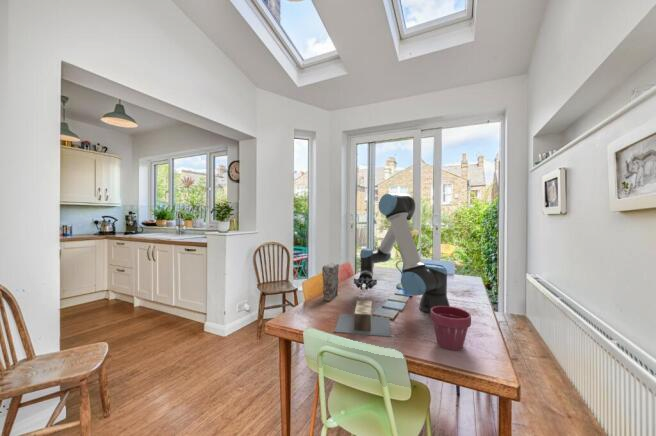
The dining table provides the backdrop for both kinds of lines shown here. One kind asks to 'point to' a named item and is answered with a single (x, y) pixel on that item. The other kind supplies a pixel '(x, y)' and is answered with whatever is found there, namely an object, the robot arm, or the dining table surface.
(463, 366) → the dining table surface
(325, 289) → the stone block
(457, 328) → the plant pot
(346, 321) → the slate mat
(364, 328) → the birch block
